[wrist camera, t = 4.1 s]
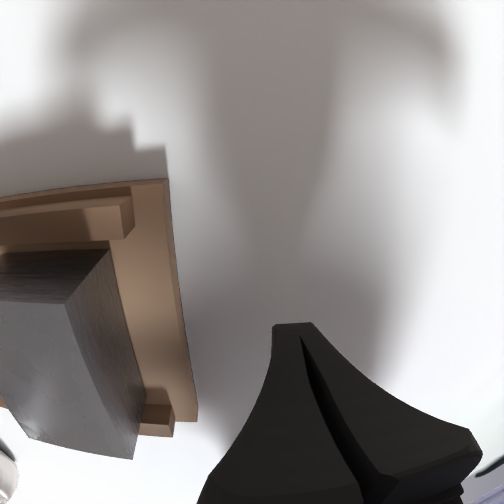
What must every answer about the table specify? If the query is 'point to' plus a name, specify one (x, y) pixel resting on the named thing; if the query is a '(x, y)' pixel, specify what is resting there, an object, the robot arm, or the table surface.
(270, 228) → the table surface
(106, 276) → the grey rectangular block
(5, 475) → the plastic bottle
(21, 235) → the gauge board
